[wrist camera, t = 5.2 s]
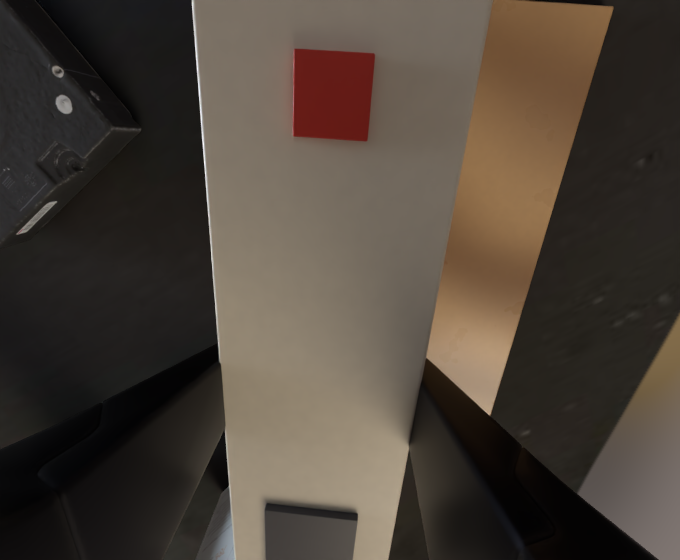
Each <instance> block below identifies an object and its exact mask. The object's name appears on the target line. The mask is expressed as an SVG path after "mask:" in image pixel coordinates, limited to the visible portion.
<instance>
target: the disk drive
mask: <svg viewBox="0 0 680 560" xmlns="http://www.w3.org/2000/svg"><path fill="white" fill-rule="evenodd" d="M140 131H141V126H140V125H139V124H138V123H136V122H135V121H134V120H133V118H132V116H131V114H130V112H129V111H128V110H127V109H126V108H125V106H124V105H123V104H122V103H121V101H120V100H119V99H118V98H117V97H116V95H115V94H114V93H113V92H112V91H111V89H110V88H109V87H108V86H107V85H106V83H105V82H104V81H103V80H102V79H101V78H100V77H99V75H98V74H97V73H96V72H95V70H94V69H93V68H92V67H91V66H90V65H89V63H88V62H87V61H86V60H85V59H84V57H83V56H82V55H81V54H80V52H79V51H78V50H77V49H76V48H75V47H74V45H73V44H72V43H71V42H70V41H69V40H68V38H67V37H66V36H65V35H64V33H63V32H62V31H61V30H60V29H59V28H58V26H57V25H56V24H55V23H54V22H53V21H52V19H51V18H50V17H49V16H48V15H47V13H46V12H45V11H44V10H43V9H42V7H41V6H40V5H39V4H38V3H37V2H36V0H0V248H5V247H8V246H11V245H15V244H18V243H21V242H24V241H27V240H30V239H31V238H32V237H33V236H34V235H35V234H36V233H38V231H39V230H40V229H41V228H42V227H43V226H44V225H45V224H47V223H48V222H49V221H50V220H51V219H52V218H53V217H54V216H55V215H56V214H57V213H58V212H59V211H60V210H61V209H62V208H63V207H64V206H65V205H66V204H67V203H68V202H69V201H70V200H71V199H73V197H74V196H76V195H77V193H79V192H80V191H81V190H82V188H83V187H84V186H85V185H87V184H88V183H89V182H90V181H91V180H92V179H93V178H94V177H95V176H96V175H97V174H98V173H99V172H100V171H101V170H102V169H103V168H104V167H105V166H106V165H107V164H108V163H109V162H110V161H111V160H112V159H113V158H114V157H115V156H116V155H117V154H118V153H119V152H120V151H121V150H122V149H123V148H124V147H125V146H126V144H127V143H128V142H130V141H131V140H132V139H133V138H134V137H135V136H136V135H137V134H139V133H140Z"/></svg>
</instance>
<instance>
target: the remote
mask: <svg viewBox="0 0 680 560" xmlns="http://www.w3.org/2000/svg"><path fill="white" fill-rule="evenodd" d="M492 3H493V0H192V12H193V25H194V38H195V51H196V63H197V76H198V89H199V102H200V115H201V128H202V141H203V154H204V167H205V180H206V193H207V206H208V219H209V232H210V245H211V258H212V271H213V284H214V297H215V310H216V322H217V335H218V348H219V361H220V363H221V370H222V383H223V397H224V410H225V424H226V426H225V439H226V452H227V465H228V478H229V491H230V504H231V517H232V530H233V543H234V556H235V560H388V557H389V552H390V547H391V541H392V536H393V531H394V525H395V520H396V515H397V509H398V504H399V499H400V493H401V488H402V483H403V477H404V472H405V467H406V461H407V456H408V451H409V442H410V437H411V432H412V426H413V421H414V416H415V410H416V405H417V400H418V395H419V389H420V384H421V381H422V376H423V371H424V366H425V360H426V355H427V350H428V344H429V339H430V334H431V328H432V323H433V318H434V312H435V307H436V302H437V296H438V291H439V286H440V280H441V275H442V270H443V264H444V259H445V254H446V248H447V243H448V238H449V232H450V227H451V222H452V216H453V211H454V206H455V200H456V195H457V190H458V184H459V179H460V174H461V168H462V163H463V158H464V152H465V147H466V142H467V136H468V131H469V126H470V120H471V115H472V110H473V104H474V99H475V94H476V88H477V83H478V78H479V72H480V67H481V62H482V56H483V51H484V46H485V40H486V35H487V30H488V25H489V19H490V14H491V9H492Z"/></svg>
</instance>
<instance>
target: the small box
mask: <svg viewBox="0 0 680 560" xmlns="http://www.w3.org/2000/svg"><path fill="white" fill-rule="evenodd" d="M195 560H235V556H234V543H233V530H232V517H231V504H230V491H229V487H228V488H227V489H225V490H224V491H223V492H222V493H221V495H220V498H219V501H218V503H217V506H216V508H215V511H214V513H213V516H212V518H211V521H210V523H209V526H208V529H207V531H206V534H205V536H204V539H203V542H202V544H201V547H200V549H199V552H198V554H197V557H196V559H195Z"/></svg>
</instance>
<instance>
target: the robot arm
mask: <svg viewBox="0 0 680 560" xmlns="http://www.w3.org/2000/svg"><path fill="white" fill-rule="evenodd" d="M225 426H226V424H225V410H224V397H223V383H222V370H221V363H220V361H219V348H218V343H217V344H215V345H213V346H212V347H210V348H208V349H206V350H204V351H202V352H200V353H198V354H196V355H194V356H192V357H190V358H188V359H186V360H184V361H182V362H180V363H178V364H176V365H174V366H172V367H170V368H168V369H166V370H164V371H162V372H160V373H158V374H156V375H154V376H152V377H150V378H148V379H146V380H144V381H142V382H140V383H138V384H136V385H134V386H132V387H130V388H128V389H126V390H124V391H123V392H121V393H119V394H117V395H115V396H113V397H111V398H109V399H107V400H105V401H103V404H102V403H99V404H97V405H95V406H93V407H91V408H89V409H87V410H85V411H83V412H81V413H79V414H77V415H75V416H73V417H71V418H69V419H66V420H64V421H62V422H60V423H58V424H56V425H54V426H52V427H50V428H47V429H45V430H43V431H41V432H39V433H36V434H34V435H32V436H30V437H27V438H25V439H23V440H21V441H18V442H16V443H14V444H12V445H9V446H7V447H5V448H2V449H0V560H163V557H164V555H165V553H166V551H167V549H168V547H169V545H170V543H171V541H172V539H173V536H174V534H175V532H176V530H177V528H178V526H179V524H180V522H181V520H182V517H183V515H184V513H185V511H186V509H187V507H188V505H189V503H190V501H191V499H192V496H193V494H194V492H195V490H196V488H197V486H198V484H199V482H200V480H201V478H202V475H203V473H204V471H205V469H206V467H207V465H208V463H209V461H210V459H211V457H212V454H213V452H214V450H215V448H216V446H217V444H218V442H219V440H220V438H221V435H222V433H223V431H224V429H225ZM409 448H410V455H411V461H412V466H413V472H414V477H415V483H416V489H417V494H418V500H419V505H420V511H421V516H422V522H423V527H424V533H425V538H426V544H427V549H428V555H429V560H658V559H657V558H656V557H654V556H653V555H652V554H651V553H650V552H648V551H647V550H646V549H645V548H643V547H642V546H641V545H640V544H638V543H637V542H636V541H635V540H633V539H632V538H631V537H630V536H628V535H627V534H626V533H625V532H623V531H622V530H621V529H619V528H618V527H617V526H616V525H615V524H614V523H612V522H611V521H610V520H608V519H607V518H606V517H605V516H603V515H602V514H601V513H600V512H599V511H597V510H596V509H595V508H593V507H592V506H591V505H590V504H588V503H587V502H586V501H585V500H584V499H583V498H581V497H580V496H579V495H578V494H577V493H575V492H574V491H573V490H572V489H570V488H569V487H568V486H567V485H566V484H564V483H563V482H562V481H561V480H560V479H559V478H557V477H556V476H555V475H554V474H553V473H552V472H551V471H550V470H548V469H547V468H546V467H545V466H544V465H543V464H542V463H541V462H539V461H538V460H537V459H536V458H535V457H534V456H533V455H532V454H531V453H530V452H529V451H527V450H526V449H525V448H522V446H521V444H520V443H519V442H518V441H516V440H515V439H514V438H513V437H512V436H511V435H510V434H509V433H508V432H507V431H506V430H505V429H503V428H502V427H501V426H500V425H499V424H498V423H497V422H496V421H495V420H494V419H493V418H492V417H490V416H489V415H488V414H487V413H486V412H485V411H484V410H483V409H482V408H481V407H480V406H479V405H478V404H476V403H475V402H474V401H473V400H472V399H471V398H470V397H469V396H468V395H467V394H466V393H465V392H463V391H462V390H461V389H460V388H459V387H458V386H457V385H456V384H455V383H454V382H453V381H452V380H450V379H449V378H448V377H447V376H446V375H445V374H444V373H443V372H442V371H441V370H440V369H439V368H437V367H436V366H435V365H434V364H433V363H432V362H431V361H430V360H429V359H427V358H426V360H425V366H424V371H423V376H422V381H421V384H420V389H419V395H418V400H417V405H416V410H415V416H414V421H413V426H412V432H411V437H410V442H409Z"/></svg>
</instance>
